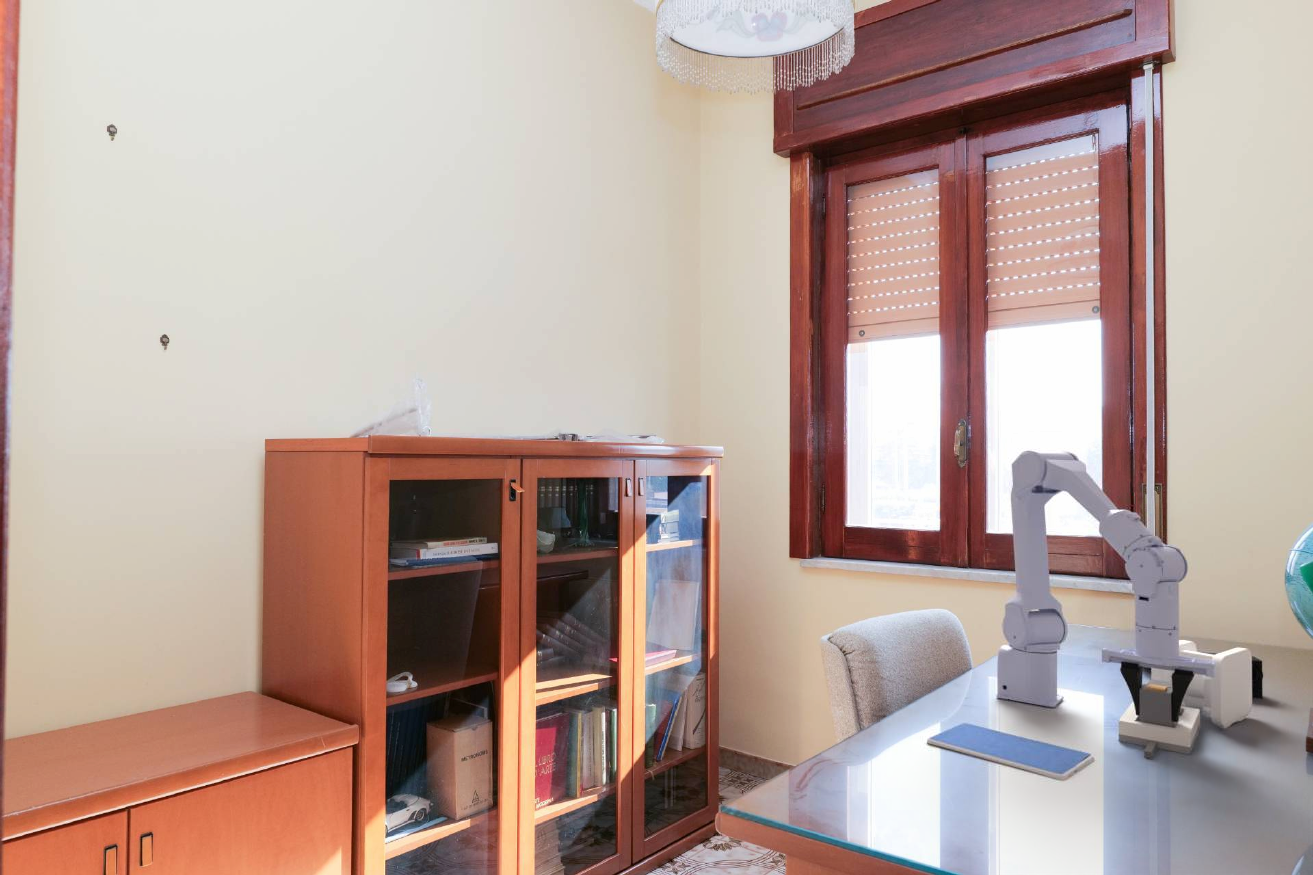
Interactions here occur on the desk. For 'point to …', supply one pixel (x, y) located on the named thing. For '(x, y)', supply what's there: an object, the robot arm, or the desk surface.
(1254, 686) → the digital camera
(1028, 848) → the desk surface
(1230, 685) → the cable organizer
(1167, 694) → the plug
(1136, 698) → the robot arm
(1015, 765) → the tablet computer
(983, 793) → the desk surface
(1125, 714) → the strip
